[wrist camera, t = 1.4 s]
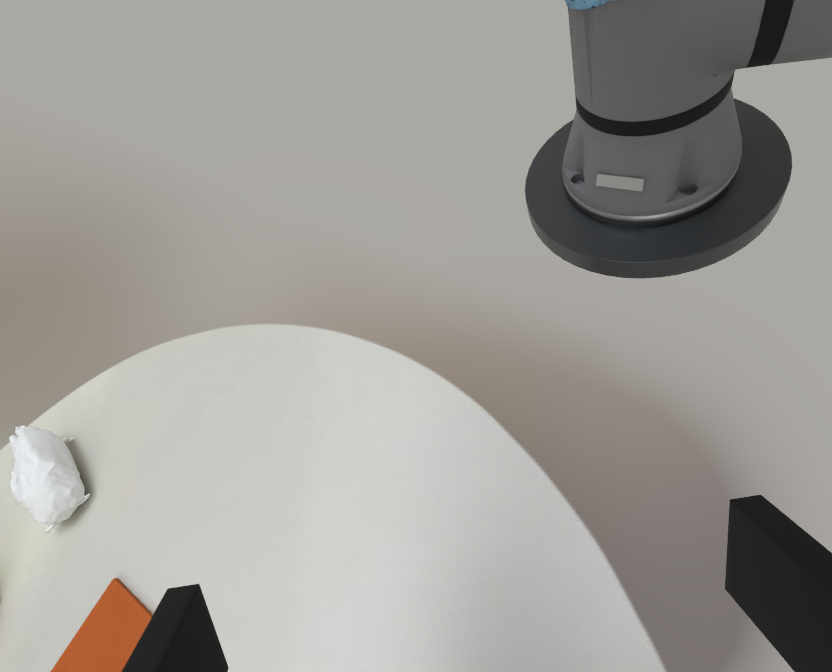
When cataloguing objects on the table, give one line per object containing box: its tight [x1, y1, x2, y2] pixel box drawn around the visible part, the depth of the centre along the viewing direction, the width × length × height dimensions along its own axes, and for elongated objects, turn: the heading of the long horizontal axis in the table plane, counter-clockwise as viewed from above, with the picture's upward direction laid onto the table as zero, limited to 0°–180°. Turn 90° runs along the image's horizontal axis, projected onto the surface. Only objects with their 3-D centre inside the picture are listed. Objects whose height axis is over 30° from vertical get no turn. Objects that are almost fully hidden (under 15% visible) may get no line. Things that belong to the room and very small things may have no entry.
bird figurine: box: [9, 425, 90, 533], centre depth 46 cm, size 5×7×10 cm
